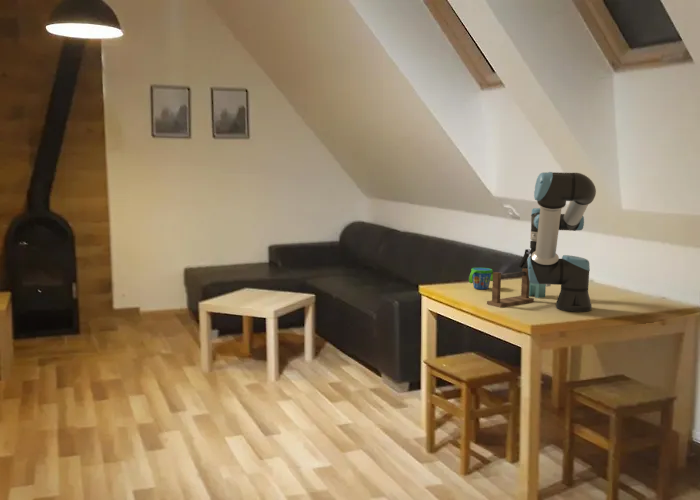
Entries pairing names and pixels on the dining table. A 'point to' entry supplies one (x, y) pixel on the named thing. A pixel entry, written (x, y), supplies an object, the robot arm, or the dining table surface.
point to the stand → (512, 300)
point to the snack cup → (481, 277)
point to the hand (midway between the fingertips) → (536, 284)
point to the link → (537, 290)
